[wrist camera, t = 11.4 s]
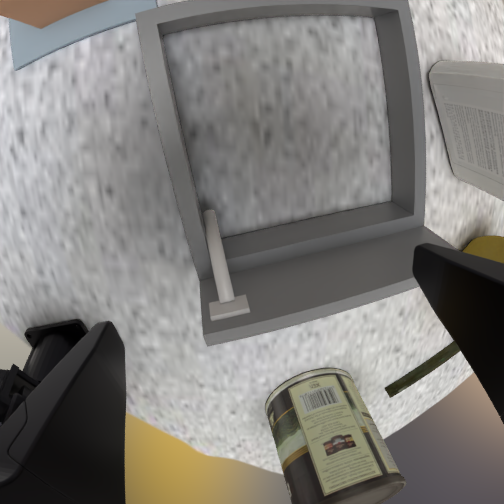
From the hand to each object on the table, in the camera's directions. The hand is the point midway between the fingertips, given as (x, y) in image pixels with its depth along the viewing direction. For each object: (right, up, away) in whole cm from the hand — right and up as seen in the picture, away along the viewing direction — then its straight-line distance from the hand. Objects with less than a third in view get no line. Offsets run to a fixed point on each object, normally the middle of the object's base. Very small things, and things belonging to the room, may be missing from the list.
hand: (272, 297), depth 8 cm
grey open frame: (+2, +9, +10) cm, 14 cm away
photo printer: (+16, +12, +12) cm, 23 cm away
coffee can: (+6, -15, +24) cm, 29 cm away
